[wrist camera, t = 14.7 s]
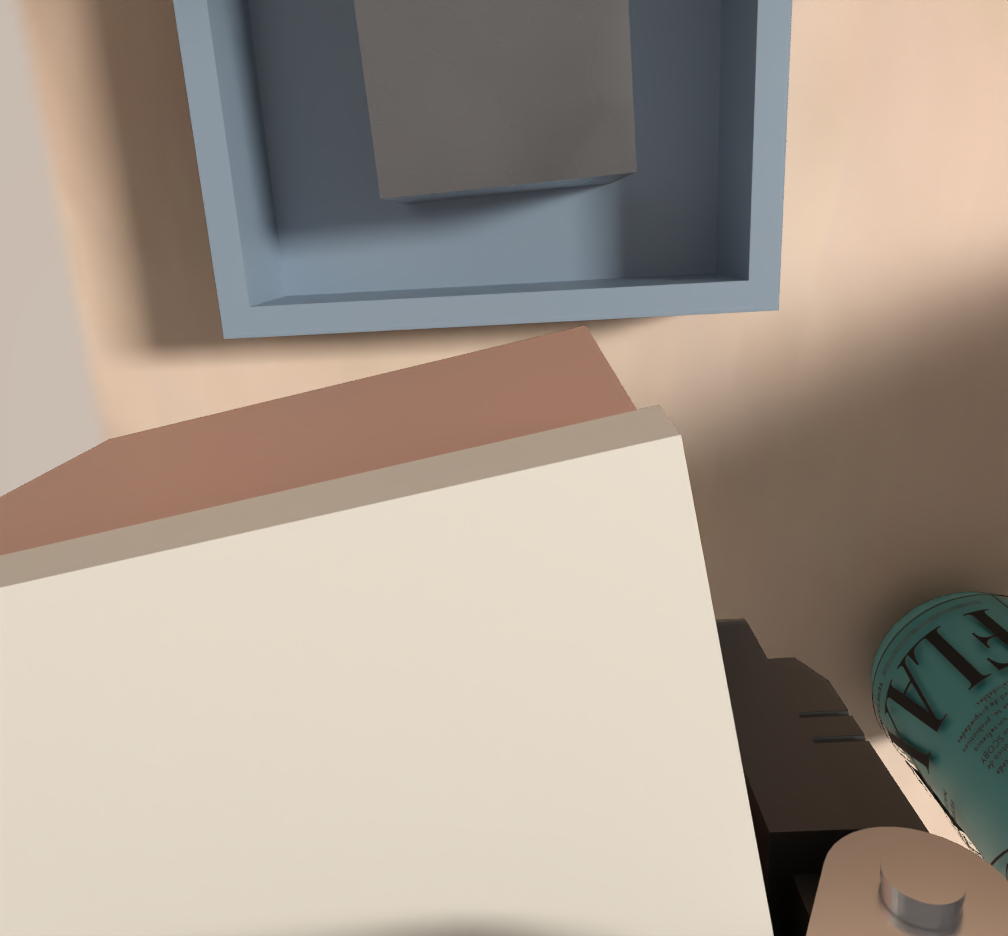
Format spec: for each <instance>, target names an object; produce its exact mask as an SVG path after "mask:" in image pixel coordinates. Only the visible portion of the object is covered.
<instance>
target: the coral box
mask: <svg viewBox="0 0 1008 936" xmlns="http://www.w3.org/2000/svg"><path fill="white" fill-rule="evenodd" d="M0 936H774V935H773V930H772V924H771V919H770V913H769V908H768V903H767V897H766V892H765V886H764V881H763V875H762V870H761V865H760V859H759V854H758V848H757V843H756V838H755V832H754V827H753V821H752V816H751V810H750V805H749V800H748V794H747V789H746V783H745V778H744V773H743V767H742V762H741V756H740V751H739V745H738V740H737V735H736V729H735V724H734V718H733V713H732V708H731V702H730V697H729V691H728V686H727V681H726V675H725V670H724V664H723V659H722V653H721V648H720V643H719V637H718V632H717V626H716V621H715V616H714V610H713V605H712V599H711V594H710V588H709V583H708V578H707V572H706V567H705V561H704V556H703V551H702V545H701V540H700V534H699V529H698V523H697V518H696V513H695V507H694V502H693V496H692V491H691V486H690V480H689V475H688V469H687V464H686V459H685V453H684V448H683V442H682V437H681V434H680V433H679V431H678V430H677V428H676V427H675V426H674V424H673V423H672V422H671V420H670V419H669V418H668V416H667V415H666V414H665V412H664V411H663V410H662V408H661V407H660V406H659V405H656V406H652V407H648V408H643V409H639V410H637V409H636V408H635V406H634V404H633V403H632V401H631V400H630V398H629V396H628V395H627V393H626V391H625V390H624V388H623V386H622V385H621V383H620V381H619V380H618V378H617V376H616V375H615V373H614V371H613V370H612V368H611V367H610V365H609V363H608V362H607V360H606V358H605V357H604V355H603V353H602V352H601V350H600V348H599V347H598V345H597V343H596V342H595V340H594V338H593V337H592V335H591V333H590V332H589V330H588V329H587V327H586V325H584V326H580V327H576V328H572V329H568V330H563V331H559V332H555V333H551V334H547V335H542V336H538V337H534V338H530V339H526V340H522V341H517V342H513V343H509V344H505V345H501V346H497V347H492V348H488V349H484V350H480V351H476V352H471V353H467V354H463V355H459V356H455V357H451V358H446V359H442V360H438V361H434V362H430V363H426V364H421V365H417V366H413V367H409V368H405V369H400V370H396V371H392V372H388V373H384V374H380V375H375V376H371V377H367V378H363V379H359V380H355V381H350V382H346V383H342V384H338V385H334V386H329V387H325V388H321V389H317V390H313V391H309V392H304V393H300V394H296V395H292V396H288V397H284V398H279V399H275V400H271V401H267V402H263V403H258V404H254V405H250V406H246V407H242V408H238V409H233V410H229V411H225V412H221V413H217V414H213V415H208V416H204V417H200V418H196V419H192V420H187V421H183V422H179V423H175V424H171V425H167V426H162V427H158V428H154V429H150V430H146V431H142V432H137V433H133V434H129V435H125V436H121V437H116V438H112V439H109V440H107V441H105V442H103V443H101V444H99V445H97V446H96V447H94V448H92V449H90V450H88V451H86V452H84V453H82V454H80V455H79V456H77V457H75V458H73V459H71V460H69V461H67V462H66V463H64V464H62V465H60V466H58V467H56V468H54V469H52V470H50V471H49V472H47V473H45V474H43V475H41V476H39V477H37V478H35V479H34V480H32V481H30V482H28V483H26V484H24V485H22V486H20V487H18V488H17V489H15V490H13V491H11V492H9V493H7V494H5V495H3V496H1V497H0Z"/></svg>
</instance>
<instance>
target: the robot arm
mask: <svg viewBox="0 0 1008 936" xmlns="http://www.w3.org/2000/svg"><path fill="white" fill-rule="evenodd" d="M715 621H716V626H717V632H718V637H719V643H720V648H721V653H722V659H723V664H724V670H725V675H726V681H727V686H728V691H729V697H730V702H731V708H732V713H733V718H734V724H735V729H736V735H737V740H738V745H739V751H740V756H741V762H742V767H743V773H744V778H745V783H746V789H747V794H748V800H749V805H750V810H751V816H752V821H753V827H754V832H755V838H756V843H757V848H758V854H759V859H760V865H761V870H762V875H763V881H764V886H765V892H766V897H767V903H768V908H769V913H770V919H771V924H772V930H773V935H774V936H1008V881H1007V879H1006V878H1005V877H1004V876H1003V875H1002V874H1001V873H1000V872H999V871H998V870H996V869H995V868H994V867H993V866H992V865H991V864H990V863H988V862H987V861H985V860H984V859H982V858H981V857H980V856H978V855H977V854H975V853H974V852H972V851H970V850H968V849H966V848H965V847H963V846H961V845H959V844H957V843H955V842H952V841H950V840H948V839H945V838H943V837H940V836H937V835H934V834H931V833H929V831H928V830H927V828H926V827H925V825H924V824H923V822H922V821H921V819H920V818H919V816H918V815H917V813H916V812H915V810H914V809H913V807H912V806H911V804H910V803H909V801H908V800H907V798H906V797H905V795H904V794H903V792H902V791H901V789H900V788H899V786H898V785H897V783H896V782H895V780H894V779H893V777H892V776H891V774H890V773H889V771H888V770H887V768H886V767H885V765H884V764H883V762H882V761H881V759H880V758H879V756H878V755H877V753H876V751H875V750H874V748H873V747H872V745H871V744H870V742H869V741H865V738H864V733H863V732H862V730H861V729H860V727H859V726H858V724H857V723H856V721H855V720H854V718H853V717H852V716H849V715H848V709H847V708H846V706H845V705H844V703H843V702H842V700H841V699H840V697H839V696H838V694H837V693H836V691H835V690H834V688H833V687H832V685H831V684H830V682H829V681H828V680H827V679H825V678H824V677H822V676H821V675H819V674H818V673H816V672H815V671H814V670H812V669H811V668H809V667H808V666H806V665H805V664H803V663H802V662H800V661H799V660H797V659H796V658H775V659H767V657H766V655H765V654H764V652H763V650H762V648H761V646H760V645H759V643H758V641H757V639H756V637H755V636H754V634H753V632H752V630H751V628H750V627H749V625H748V623H747V622H746V620H745V619H722V620H715Z"/></svg>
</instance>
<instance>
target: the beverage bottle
mask: <svg viewBox="0 0 1008 936" xmlns="http://www.w3.org/2000/svg"><path fill="white" fill-rule="evenodd" d="M1000 596H1004V595H995V594H987V593H979V592H962V593H955V594H949V595H945V596H941V597H938V598H935V599H933V600H930V601H928V602H926V603H924V604H922V605H920V606H918V607H916V608H915V609H913V610H912V611H910V612H909V613H907V614H906V615H905V616H904V617H903V618H901V619H900V620H899V621H898V622H897V623H896V624H895V625H894V626H893V627H892V629H891V630H890V631H889V632H888V634H887V635H886V636H885V638H884V639H883V641H882V643H881V644H880V646H879V649H878V651H877V653H876V655H875V659H874V662H873V666H872V673H871V687H872V701H873V698H874V701H875V705H876V708H877V712H878V714H879V718H881V720H880V721H882V722H883V723H881V725H883V724H884V725H885V727H886V728H887V730H888V733H889V736H890V738H891V741H892V744H893V742H894V743H895V744H896V745H897V746H898V747H900V748H901V749H902V750H903V751H904V752H903V753H904V754H906V755H907V757H908V758H909V759H910V761H911V762H910V761H909V760H908V759H907V760H908V761H909V762H910V763H912V764H913V765H914V766H915V767H916V769H917V770H918V771H917V770H916V769H914V768H913V767H912V766H911V765H909V764H908V762H907V761H906V760H905V761H906V763H907V765H909V766H910V768H911V767H912V768H913V770H914V771H915V772H916V774H917V775H918V776H919V778H920V779H921V780H922V782H923V783H924V784H925V786H926V787H927V788H928V790H929V791H930V792H931V794H932V795H933V796H934V798H935V799H936V801H937V802H938V803H939V805H940V806H941V807H942V809H943V810H944V811H945V813H946V814H947V815H948V817H949V818H950V820H951V823H952V822H953V823H952V824H951V825H954V826H956V827H957V828H958V829H957V830H958V831H959V830H960V831H962V832H964V833H965V834H966V835H967V837H968V838H969V839H970V841H971V842H972V843H973V845H974V846H975V847H976V849H977V850H978V851H979V853H978V852H977V851H975V853H976V854H977V853H978V854H980V855H982V857H983V859H985V861H987V862H988V863H990V864H991V865H992V866H993V867H994V868H995V869H996V870H998V871H999V872H1000V873H1001V874H1002V875H1003V876H1004V877H1005V878H1006V879H1007V881H1008V599H1007V598H1003V597H1000ZM1005 597H1008V596H1005ZM873 708H874V703H873ZM874 712H875V710H874ZM875 715H876V713H875ZM876 719H877V717H876ZM877 721H878V720H877ZM878 723H879V722H878ZM879 725H880V724H879ZM880 727H881V726H880ZM882 727H883V726H882ZM883 729H884V727H883ZM884 732H885V731H884ZM884 734H886V733H884ZM886 737H888V736H887V735H886ZM893 745H894V744H893ZM894 746H895V745H894ZM895 747H896V746H895ZM899 750H900V749H899ZM897 751H898V750H897ZM900 751H901V750H900ZM901 752H902V751H901ZM899 753H900V752H899ZM900 754H901V753H900ZM901 755H902V754H901ZM904 758H905V759H906V757H905V756H904ZM912 768H911V769H912ZM913 770H912V771H913ZM914 771H913V773H914ZM914 774H915V773H914ZM919 781H920V780H919ZM920 783H921V781H920ZM921 784H922V783H921ZM922 785H923V784H922ZM924 788H925V787H924ZM926 791H927V790H926ZM927 792H928V791H927ZM946 814H945V815H946ZM951 815H952V816H951ZM946 817H947V816H946ZM957 823H958V824H957ZM960 827H961V828H960ZM955 829H956V828H955ZM957 830H956V831H957ZM958 834H961V833H960V832H959V833H958ZM962 835H963V834H962ZM962 835H961V836H962ZM959 836H960V835H959ZM963 838H964V839H965V836H964V837H962V840H963ZM965 840H966V839H965ZM963 841H964V840H963ZM964 842H965V841H964ZM966 842H967V841H966ZM966 842H965V844H966ZM969 843H970V842H969ZM970 844H971V843H970ZM966 845H969V844H968V842H967V844H966ZM968 848H971V847H970V846H968ZM971 849H972V850H974V849H973V848H971ZM971 849H970V850H971ZM978 854H977V855H978ZM980 855H979V856H980ZM980 857H981V856H980Z"/></svg>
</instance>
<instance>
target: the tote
mask: <svg viewBox="0 0 1008 936" xmlns="http://www.w3.org/2000/svg"><path fill="white" fill-rule="evenodd" d="M628 3H629V24H630V45H631V65H632V86H633V107H634V127H635V148H636V169H637V172H636V173H634V174H631V175H629V176H627V177H624V178H622V179H620V180H618V181H615V182H613V183H610V184H600V185H590V186H581V187H571V188H562V189H552V190H542V191H533V192H523V193H513V194H504V195H494V196H485V197H475V198H465V199H456V200H446V201H436V202H427V203H417V204H408V205H407V204H402V203H397V202H393V201H388V200H383V199H380V192H379V185H378V177H377V170H376V162H375V155H374V148H373V140H372V133H371V125H370V118H369V110H368V103H367V95H366V88H365V81H364V73H363V66H362V58H361V51H360V43H359V36H358V29H357V21H356V14H355V6H354V0H173V4H174V11H175V17H176V24H177V31H178V37H179V44H180V51H181V57H182V64H183V71H184V77H185V84H186V90H187V97H188V104H189V110H190V117H191V124H192V130H193V137H194V143H195V150H196V157H197V163H198V170H199V177H200V183H201V190H202V197H203V203H204V210H205V216H206V223H207V230H208V236H209V243H210V250H211V256H212V263H213V270H214V276H215V283H216V289H217V296H218V303H219V309H220V316H221V323H222V329H223V336H224V339H235V338H255V337H274V336H293V335H312V334H332V333H351V332H370V331H389V330H408V329H428V328H447V327H466V326H485V325H505V324H524V323H543V322H562V321H582V320H601V319H620V318H639V317H659V316H678V315H697V314H716V313H735V312H755V311H774V310H779V291H780V268H781V245H782V222H783V199H784V176H785V153H786V130H787V108H788V85H789V62H790V39H791V16H792V0H628Z"/></svg>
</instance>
